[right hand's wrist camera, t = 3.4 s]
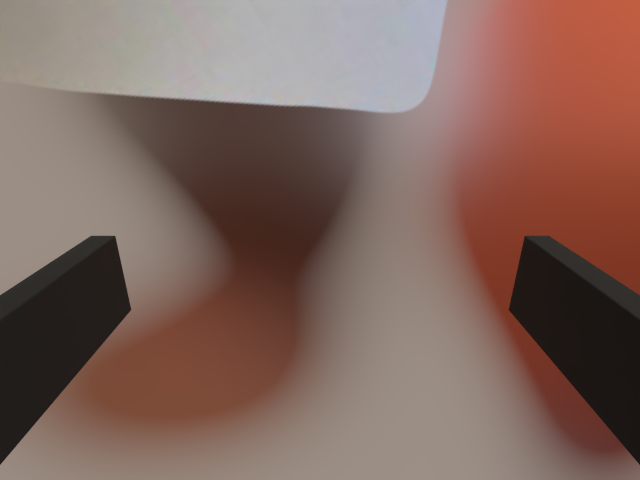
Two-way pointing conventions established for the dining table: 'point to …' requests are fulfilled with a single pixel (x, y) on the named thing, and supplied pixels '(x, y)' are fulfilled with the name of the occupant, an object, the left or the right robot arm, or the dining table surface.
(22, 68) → the dining table surface
